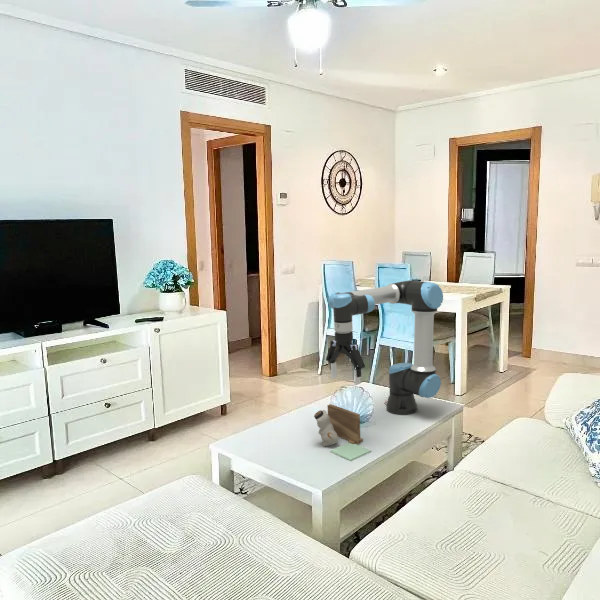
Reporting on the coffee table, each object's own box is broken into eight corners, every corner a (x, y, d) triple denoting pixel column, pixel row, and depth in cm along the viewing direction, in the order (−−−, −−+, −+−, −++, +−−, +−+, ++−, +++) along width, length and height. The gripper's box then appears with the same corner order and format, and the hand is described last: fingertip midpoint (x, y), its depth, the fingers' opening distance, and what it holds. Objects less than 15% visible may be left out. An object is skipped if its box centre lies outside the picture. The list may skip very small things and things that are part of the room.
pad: (350, 443, 231) (350, 441, 231) (371, 451, 222) (371, 450, 222) (330, 451, 224) (330, 450, 224) (350, 461, 215) (350, 459, 215)
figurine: (324, 438, 238) (322, 406, 235) (342, 443, 231) (341, 410, 229) (311, 445, 231) (310, 412, 229) (330, 451, 225) (329, 416, 222)
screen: (334, 430, 246) (333, 403, 244) (363, 441, 232) (362, 413, 230) (325, 434, 242) (324, 406, 240) (353, 446, 229) (353, 416, 227)
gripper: (316, 329, 229) (318, 377, 233) (359, 337, 211) (361, 389, 214) (328, 326, 234) (331, 373, 238) (372, 333, 216) (374, 384, 219)
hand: (345, 380), depth 226 cm, fingers open, 13 cm apart
